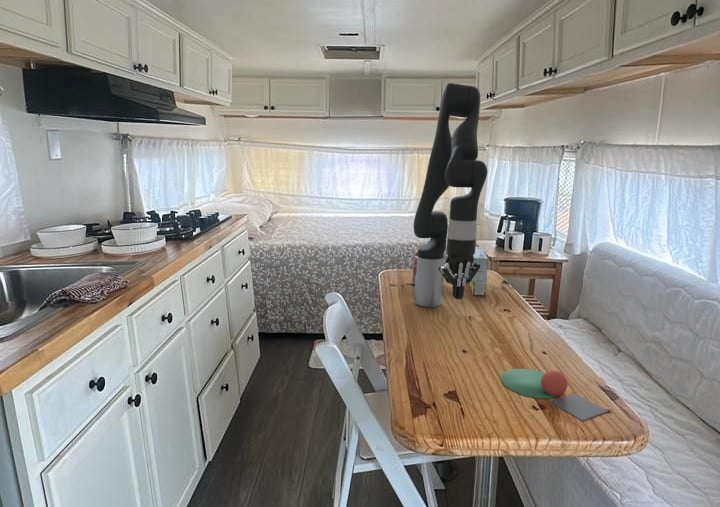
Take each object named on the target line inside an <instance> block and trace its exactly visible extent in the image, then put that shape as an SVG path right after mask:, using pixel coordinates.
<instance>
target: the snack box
mask: <svg viewBox="0 0 720 507" xmlns="http://www.w3.org/2000/svg"><path fill="white" fill-rule="evenodd" d="M473 257H474V262H475V263H477V264H480V268H479V270H478V271H477V273H476V274H475V276H474V277H473V279H472V281H471V282H470V283H468V284H470V285H469V288H470V291H472V292H471V295H472V294H473V295H472V296H476V295H482V297H483V296H484V297H486V295H487V282H488V281H487V280H488V267H489V265H488V262H489V258H488V256H487V255H486V252H485V251H484V249H483V247H481V246H476V247H475V254H474V255H473ZM468 277H469V276H468Z"/></svg>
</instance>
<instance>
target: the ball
mask: <svg viewBox="0 0 720 507" xmlns="http://www.w3.org/2000/svg"><path fill="white" fill-rule="evenodd" d="M544 373H545V374H544V375H543V376H542V378H541V386H542V388H543V390H544V391H545V392H546V393H548V394H549V395H552V396H558V397H560V396H561V395H563V394H565V392H566V391H567V389H568V380H567V378H566V376H565V375H564V374H563V373H561V372H560V371H558V370H554V369H552V370H548V371H546V372H544ZM559 395H560V396H559Z"/></svg>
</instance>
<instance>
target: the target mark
mask: <svg viewBox="0 0 720 507" xmlns="http://www.w3.org/2000/svg"><path fill="white" fill-rule="evenodd" d="M545 373H546V372H542V371H539V370H536V369H530V368H514V369H513V368H512V369H509V370H506V371H504V372H503V373H502V374H501V376H500V381H501V383H502V384H503V386H504V387H506V389H508V390H510V391H512V392H514V393H516V394H518V395H521V396H524V395H525V396H524V397H527V396H529V397H528V398H532V397H534V398H533V399H544V400H545V399H546V400H547V399H554V398H558V397H560V396H561V395H559V396H552V395H549V394H548V393H546V392H545V391H544V390H543V388H542V386H541V378H542V376H543V375H544V374H545Z"/></svg>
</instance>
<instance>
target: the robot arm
mask: <svg viewBox="0 0 720 507" xmlns="http://www.w3.org/2000/svg"><path fill="white" fill-rule="evenodd" d="M480 107H481V92H480V89H479V88H478V87H476V86H473V85H469V84H468V85H467V84H459V83H455V82H454V83H452V82H449V83H446V85H445V86H444V88H443V91H442V95H441V101H440V106H439V111H438V117H437V118H438V119H437V124H436V129H435V130H436V131H435V135H434V140H433V144H432V148H431V152H430V156H429V158H428V159H429V160H428V163H427V164H428V165H427V169H426V174H425V178H424V179H425V180H424V185H423V187H422V188H423V190H422V192H421V197H420V201H419V202H418V205H417V209H416V212H415V215H414V219H413V233H414V235H415V236H416V237H417V238H418V239H429V240H428V242H427V243H425V244H424V245H422V246H419V247H420V248H419V247H418V248H417V249H418V251H417V271H416V276H415V286H414V289H413V290H414V291H413V301H414V300H415V301H414V304H416V305H418V306H420V307H423V308H424V307H425V308H434V307H439V306H441V304H442V291H443V289H442V287H443V286H442V276H443V279H444V281H445V282H446V283H447V284H450V285H452V292H451V295H452V297H453V298H454V299H455V300H462V299H463V297H464V296H465V286H466V284H469V283H470V282H471V281H472V279H473V277H474V276H475V274H476V273H477V271H478V270H479V268H480V264H477V263H475V262H474V257H473V255H474V254H475V247H477V246H476V245H477V235H478V234H477V232H478V231H477V230H478V226H477V221H478V220H477V218H478V205H479V201H480V200H479V199H480V196H481V193H482V190H483V188H484V185H485V182H486V180H487V176H488V167H487V165H486V163H485V162H484V161H482V160H479V159H478V156H479V147H478V146H479V145H478V144H479V143H478V126H479V119H480V109H481V108H480ZM450 117H456V118H463V119H465V120H464V121H462V122H461V123H460V124H459V125H458V126H457V127H456V128H455V130H454V131H453V134H451V130H450V126H449V125H450V124H449V123H450V122H449V121H450ZM477 159H478V160H477ZM449 187H452V188H469V189H470V188H471V189H470V191H469V192H468V193H467V194H464V195H459V196H455V197H452V198H451V200H450V205H449V220H448V217H447V214H446V213H445V212H443V211H440V210H438V211H437V210H434V207H435V205H436V203H437V202H438V200H439V199H440V198H441V197H442V195H443V194H444V193H445V192H446V190H448V189H449ZM433 210H434V211H433ZM445 251H446V253H447V257H446V258H445V263H444V261H443V258H444V257H445V256H444V255H445ZM443 263H444V266H443ZM468 276H469V277H468Z"/></svg>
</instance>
